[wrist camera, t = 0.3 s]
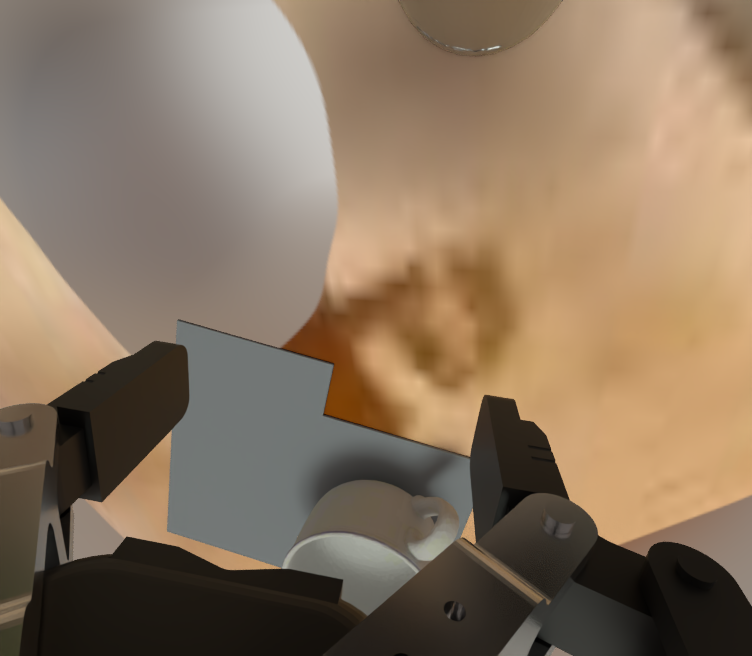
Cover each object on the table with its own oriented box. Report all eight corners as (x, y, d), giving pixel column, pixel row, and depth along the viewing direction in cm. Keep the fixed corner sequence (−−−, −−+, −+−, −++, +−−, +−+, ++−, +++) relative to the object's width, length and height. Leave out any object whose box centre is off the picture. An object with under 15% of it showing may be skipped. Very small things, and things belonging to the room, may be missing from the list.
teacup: (362, 575, 41) (340, 671, 34) (286, 488, 39) (246, 571, 32) (504, 522, 36) (514, 620, 29) (427, 419, 34) (417, 498, 27)
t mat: (178, 319, 34) (177, 320, 34) (510, 414, 33) (511, 416, 33) (168, 529, 44) (167, 531, 43) (428, 612, 42) (427, 614, 42)
